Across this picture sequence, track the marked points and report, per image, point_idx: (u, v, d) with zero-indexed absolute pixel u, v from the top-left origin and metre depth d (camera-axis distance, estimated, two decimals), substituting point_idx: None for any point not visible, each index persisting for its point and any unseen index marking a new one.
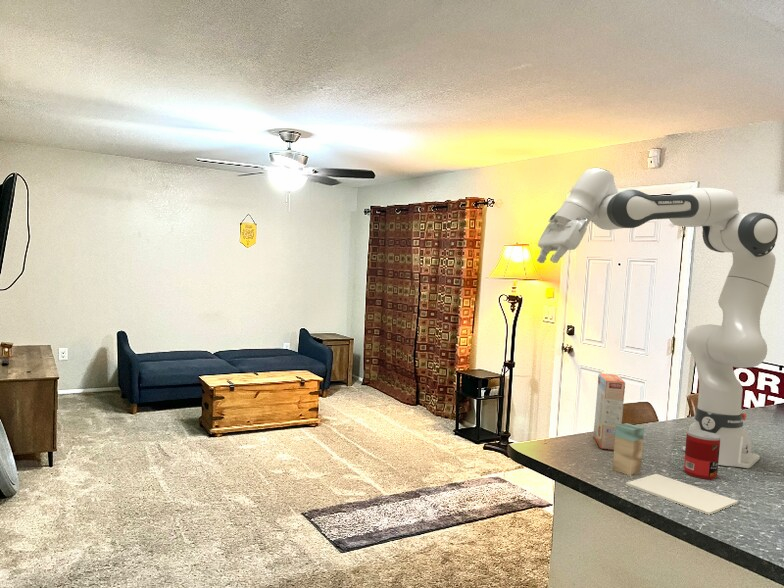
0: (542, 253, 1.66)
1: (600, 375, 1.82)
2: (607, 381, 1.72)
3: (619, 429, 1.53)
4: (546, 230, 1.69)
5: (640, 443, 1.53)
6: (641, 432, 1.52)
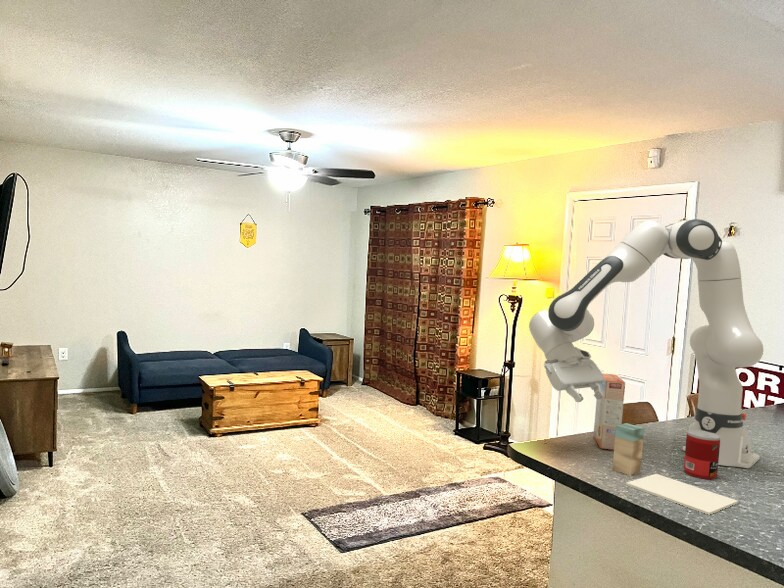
0: (595, 391, 1.68)
1: None
2: (607, 381, 1.72)
3: (619, 429, 1.53)
4: None
5: (640, 443, 1.53)
6: (641, 431, 1.52)
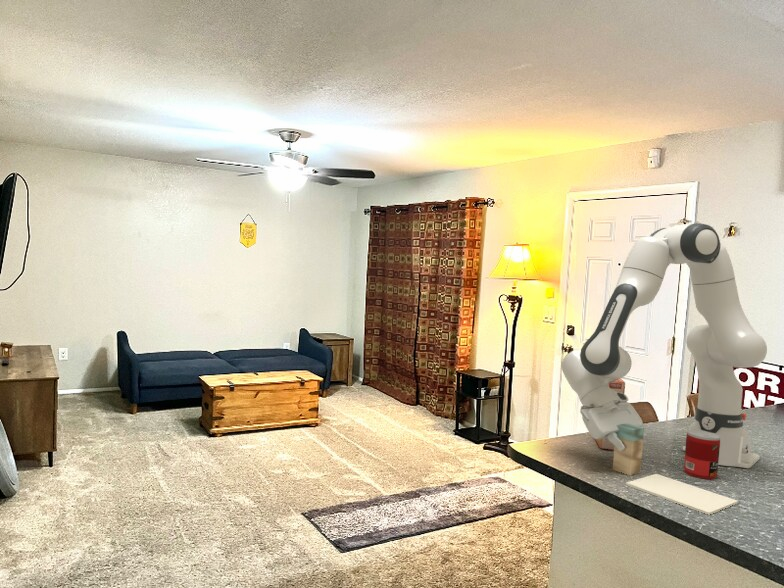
0: None
1: None
2: None
3: (619, 429, 1.53)
4: None
5: (640, 443, 1.53)
6: (641, 431, 1.52)
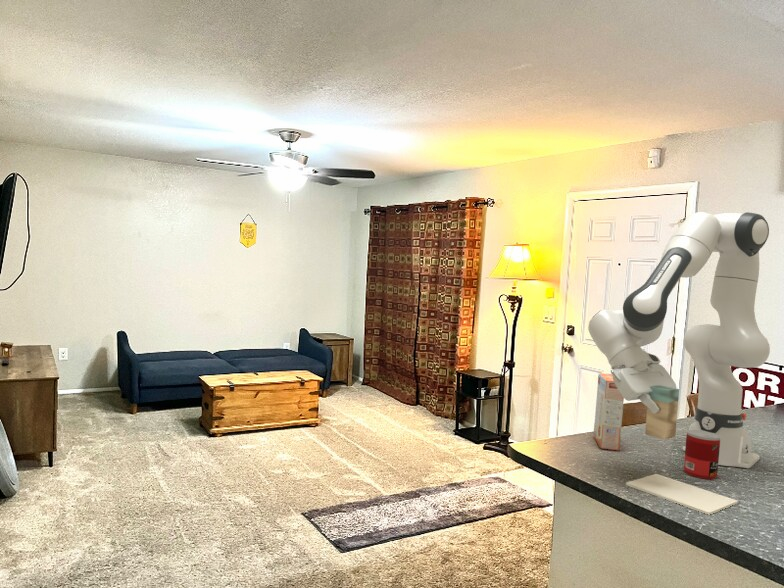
0: None
1: (600, 375, 1.82)
2: (607, 381, 1.72)
3: (652, 390, 1.43)
4: None
5: (676, 405, 1.42)
6: (676, 393, 1.42)
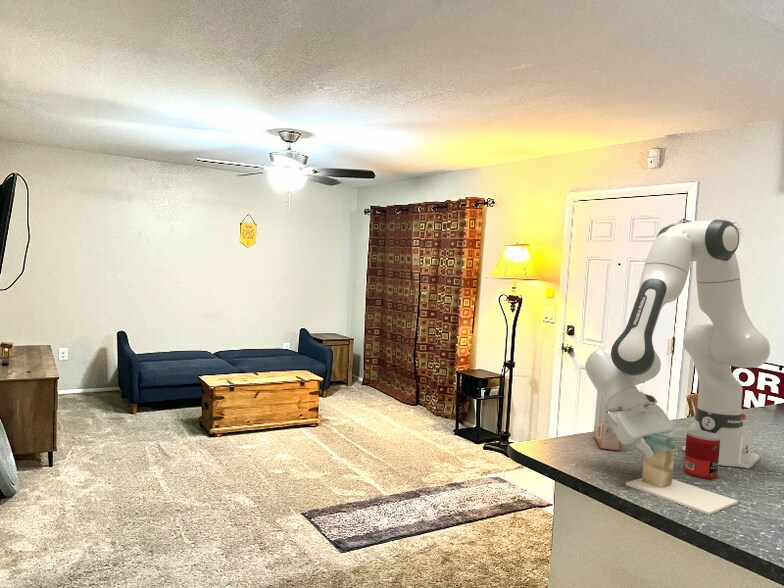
0: None
1: None
2: None
3: (649, 438, 1.43)
4: None
5: (672, 453, 1.43)
6: (672, 441, 1.43)
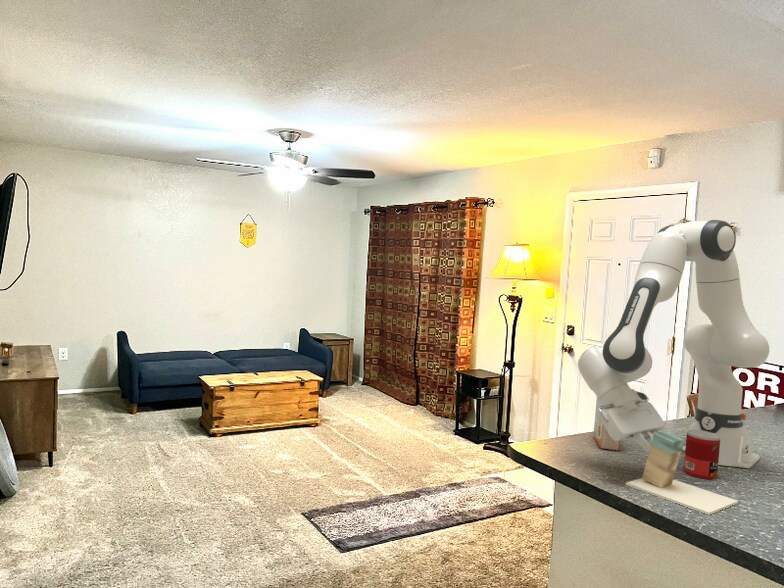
0: (647, 441, 1.48)
1: None
2: None
3: (657, 438, 1.42)
4: None
5: (677, 455, 1.42)
6: (680, 444, 1.41)
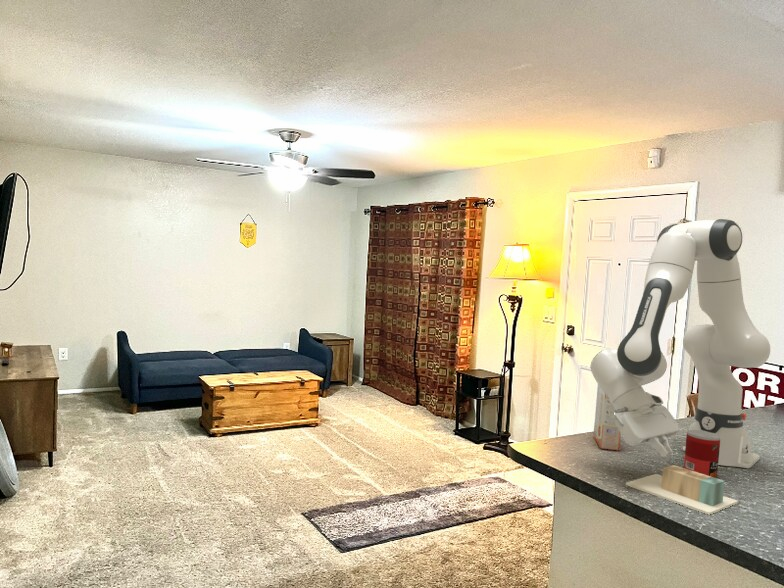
0: (662, 445, 1.45)
1: None
2: None
3: (709, 487, 1.32)
4: None
5: None
6: None
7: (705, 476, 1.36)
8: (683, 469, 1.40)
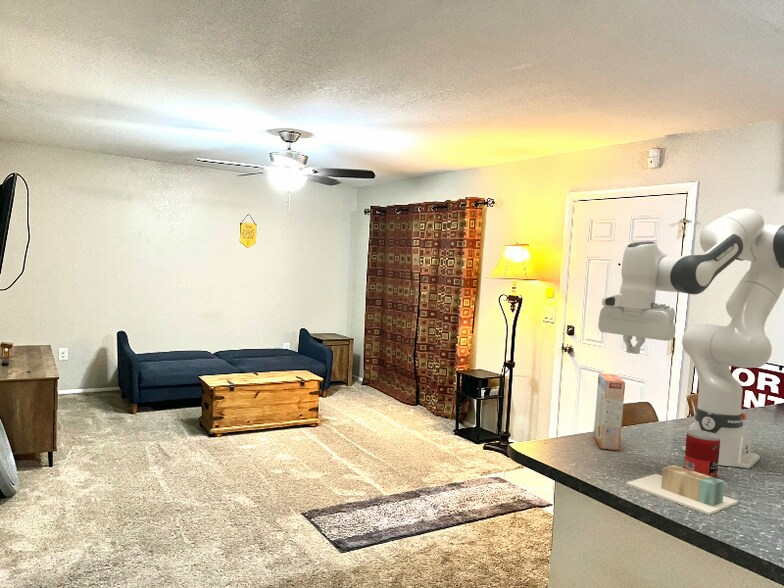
0: (628, 342, 1.56)
1: (600, 375, 1.82)
2: (607, 381, 1.72)
3: (709, 487, 1.32)
4: (604, 314, 1.61)
5: None
6: None
7: (705, 476, 1.36)
8: (683, 469, 1.40)
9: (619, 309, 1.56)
